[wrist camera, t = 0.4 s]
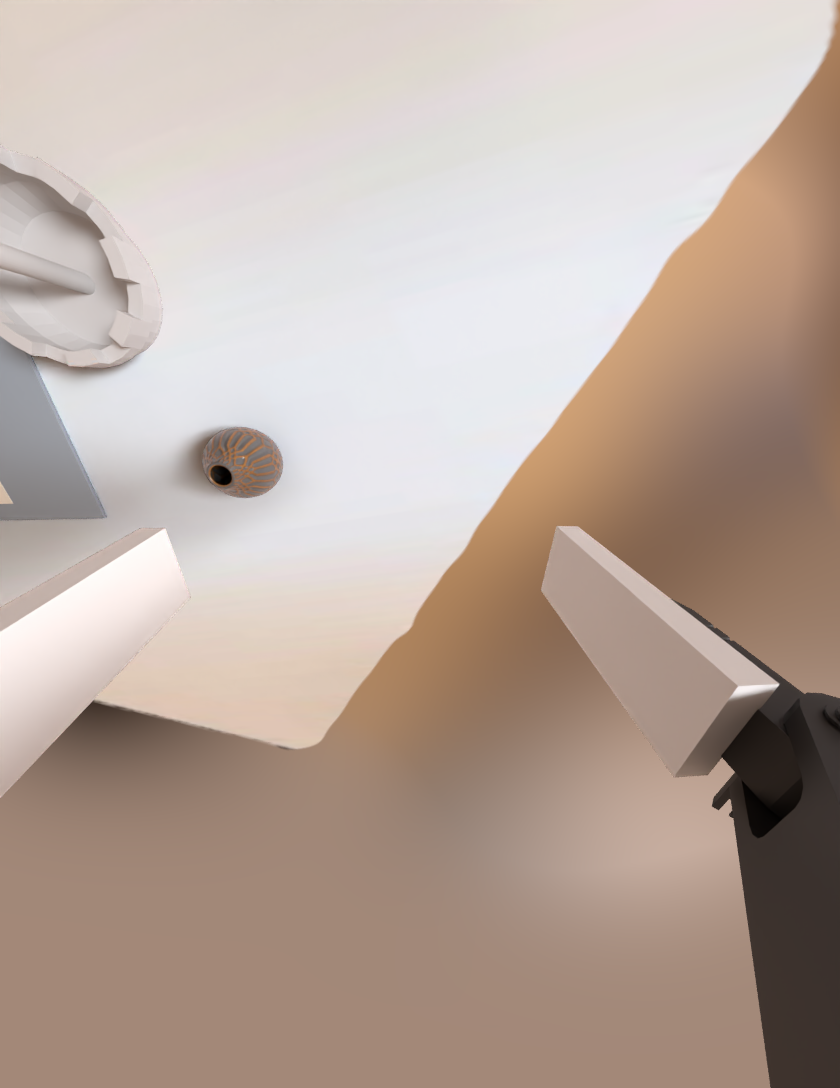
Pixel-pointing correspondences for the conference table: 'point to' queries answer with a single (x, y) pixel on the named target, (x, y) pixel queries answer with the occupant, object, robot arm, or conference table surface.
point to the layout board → (37, 449)
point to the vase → (242, 462)
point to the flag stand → (69, 271)
